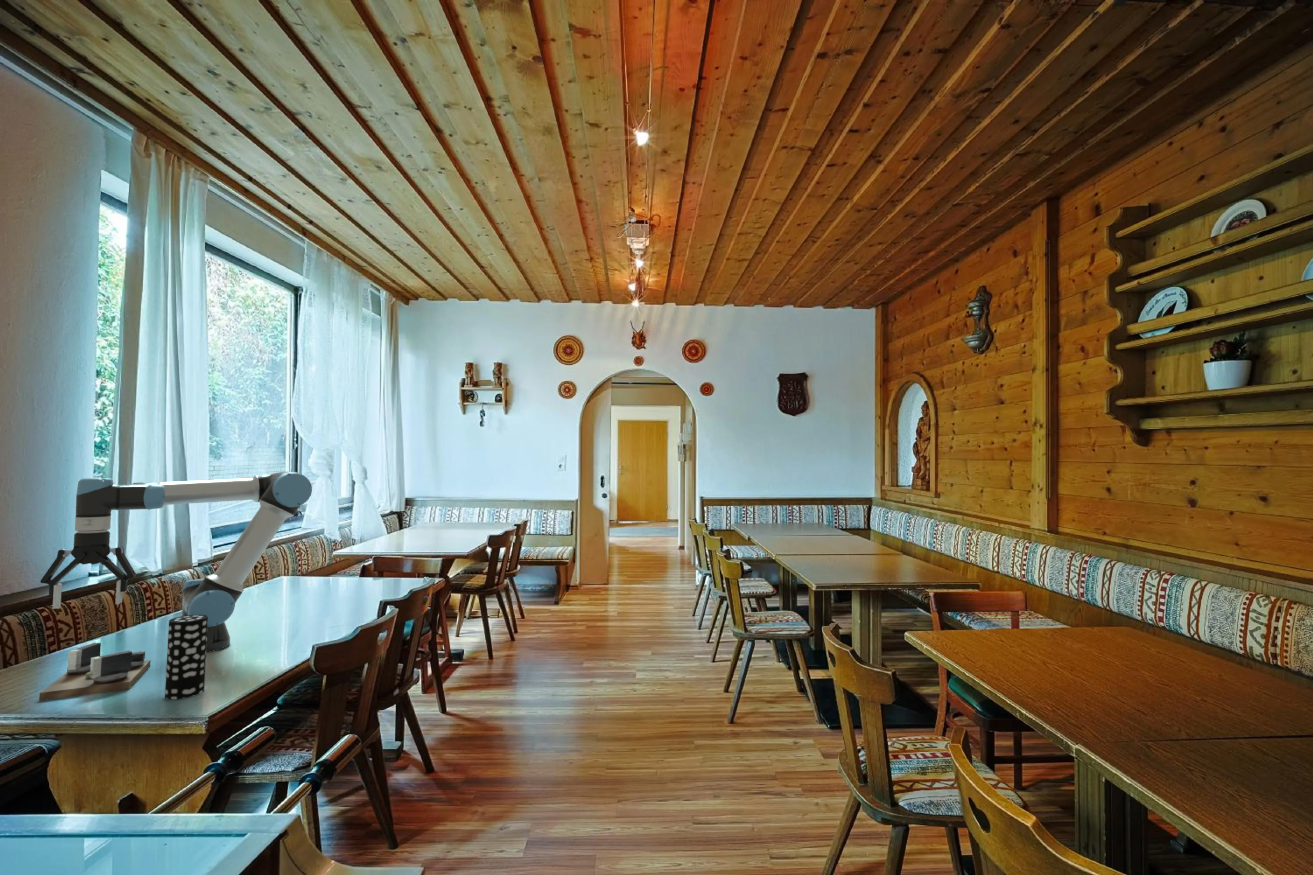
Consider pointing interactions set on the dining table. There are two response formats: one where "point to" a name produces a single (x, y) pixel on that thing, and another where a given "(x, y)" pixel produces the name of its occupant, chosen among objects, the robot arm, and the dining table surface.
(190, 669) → the white-spotted black cylinder
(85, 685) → the base
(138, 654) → the knob
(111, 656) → the knob
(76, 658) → the knob
